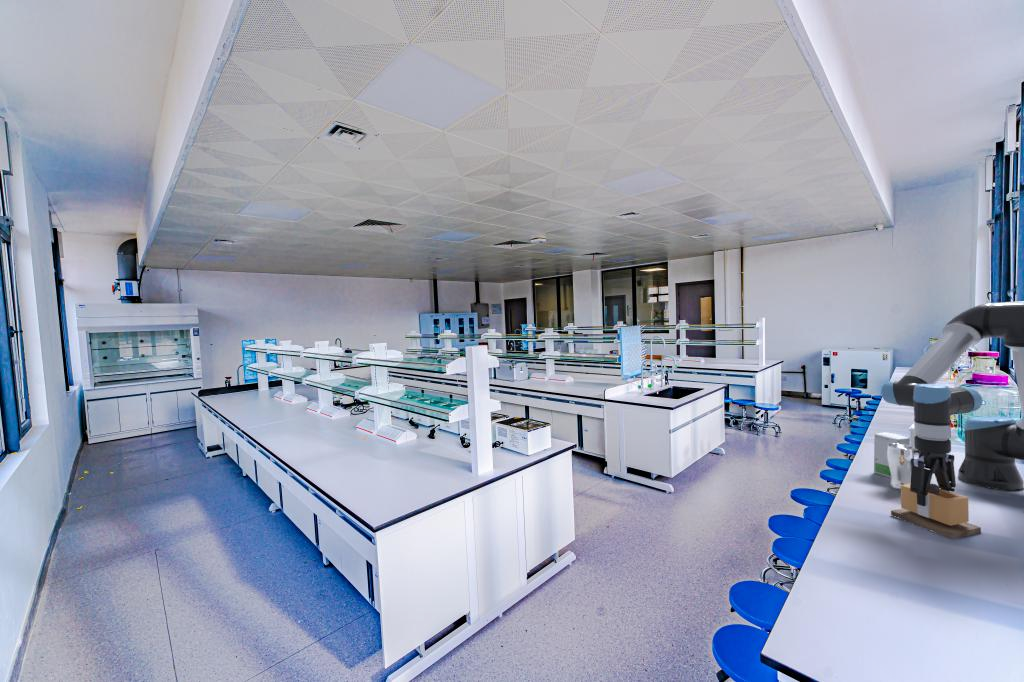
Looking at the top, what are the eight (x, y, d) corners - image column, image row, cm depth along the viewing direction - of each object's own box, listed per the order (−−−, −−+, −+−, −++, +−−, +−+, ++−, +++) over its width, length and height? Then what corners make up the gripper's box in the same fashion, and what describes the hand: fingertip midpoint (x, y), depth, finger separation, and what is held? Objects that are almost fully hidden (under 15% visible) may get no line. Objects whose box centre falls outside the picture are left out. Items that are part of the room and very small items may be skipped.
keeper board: (917, 509, 130) (916, 472, 130) (980, 532, 116) (980, 490, 115) (891, 515, 128) (890, 477, 127) (952, 539, 113) (951, 496, 113)
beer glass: (893, 490, 144) (892, 448, 144) (884, 482, 151) (883, 442, 150) (919, 492, 142) (918, 449, 141) (908, 484, 148) (907, 443, 148)
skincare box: (873, 472, 160) (872, 433, 160) (885, 470, 162) (885, 431, 161) (898, 480, 152) (897, 439, 152) (911, 477, 154) (910, 436, 153)
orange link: (901, 507, 127) (900, 485, 126) (918, 504, 128) (917, 482, 128) (950, 525, 115) (950, 501, 115) (968, 521, 116) (968, 497, 116)
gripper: (941, 430, 126) (942, 503, 127) (891, 438, 122) (893, 513, 123) (973, 436, 119) (974, 513, 120) (922, 444, 115) (923, 525, 116)
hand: (933, 513), depth 121 cm, fingers closed on orange link, 7 cm apart
